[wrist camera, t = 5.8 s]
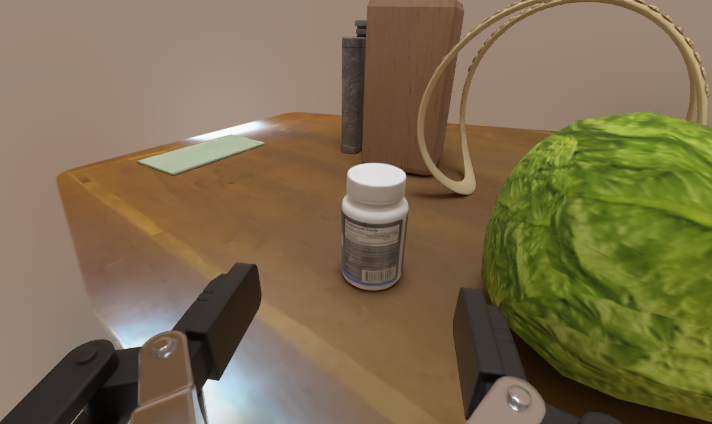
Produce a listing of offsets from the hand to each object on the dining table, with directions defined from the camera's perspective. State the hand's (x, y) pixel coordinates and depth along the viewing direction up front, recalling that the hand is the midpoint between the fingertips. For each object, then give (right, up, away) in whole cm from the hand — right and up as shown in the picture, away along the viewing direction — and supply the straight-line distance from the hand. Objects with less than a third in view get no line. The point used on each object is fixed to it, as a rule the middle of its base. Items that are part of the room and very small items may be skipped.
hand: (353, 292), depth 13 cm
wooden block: (+7, +10, +36) cm, 38 cm away
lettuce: (+19, -6, +7) cm, 21 cm away
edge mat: (-22, +12, +37) cm, 45 cm away
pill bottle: (+1, -2, +13) cm, 13 cm away
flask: (+1, +15, +44) cm, 47 cm away
